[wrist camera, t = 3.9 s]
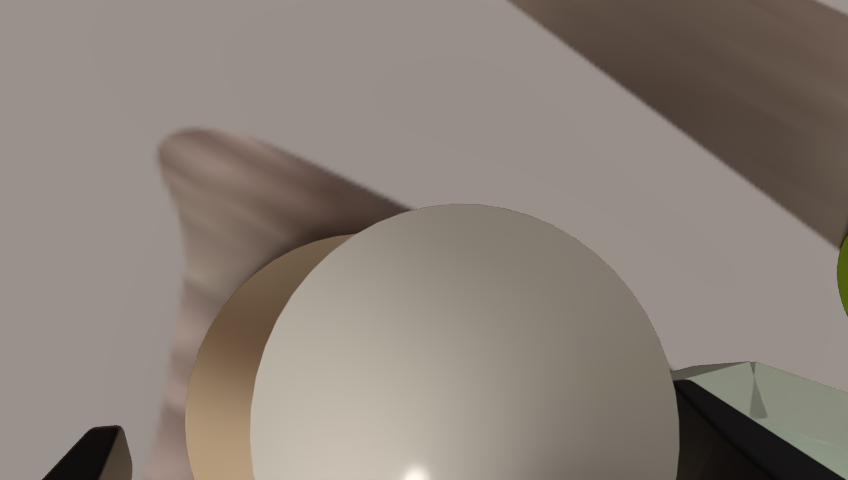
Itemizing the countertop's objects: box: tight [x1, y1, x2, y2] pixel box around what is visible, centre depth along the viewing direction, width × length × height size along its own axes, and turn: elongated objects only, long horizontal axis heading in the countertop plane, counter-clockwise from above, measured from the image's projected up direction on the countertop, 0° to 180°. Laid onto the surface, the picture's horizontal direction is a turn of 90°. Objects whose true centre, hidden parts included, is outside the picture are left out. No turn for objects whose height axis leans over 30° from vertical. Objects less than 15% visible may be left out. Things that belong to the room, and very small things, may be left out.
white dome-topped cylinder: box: [250, 204, 679, 480], centre depth 12 cm, size 5×5×12 cm
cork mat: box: [185, 234, 356, 480], centre depth 18 cm, size 10×10×1 cm
